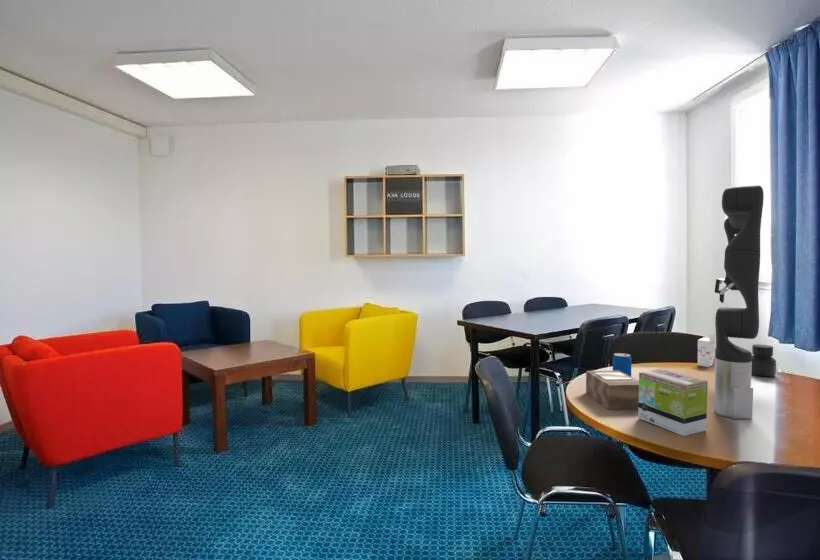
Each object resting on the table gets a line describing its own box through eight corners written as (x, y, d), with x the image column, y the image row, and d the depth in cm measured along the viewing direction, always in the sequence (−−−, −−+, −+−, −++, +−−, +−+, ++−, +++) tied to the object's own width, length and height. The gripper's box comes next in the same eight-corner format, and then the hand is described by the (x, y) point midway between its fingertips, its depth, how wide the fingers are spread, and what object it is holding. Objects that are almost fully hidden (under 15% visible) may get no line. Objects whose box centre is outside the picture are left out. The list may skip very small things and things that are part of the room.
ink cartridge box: (702, 362, 210) (703, 330, 209) (715, 364, 206) (716, 331, 206) (696, 365, 204) (697, 332, 204) (709, 367, 201) (710, 334, 200)
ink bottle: (781, 376, 185) (782, 347, 185) (769, 379, 181) (770, 349, 181) (754, 371, 194) (755, 342, 193) (742, 373, 190) (743, 344, 190)
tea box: (636, 419, 139) (637, 371, 138) (659, 414, 143) (660, 367, 142) (683, 437, 125) (685, 384, 124) (707, 431, 129) (709, 379, 129)
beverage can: (635, 387, 172) (635, 355, 172) (622, 389, 170) (622, 357, 169) (621, 382, 178) (621, 352, 178) (608, 384, 176) (609, 353, 175)
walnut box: (645, 408, 148) (645, 383, 148) (608, 409, 148) (609, 384, 147) (618, 392, 166) (619, 369, 166) (586, 392, 166) (586, 370, 165)
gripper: (715, 267, 183) (713, 305, 188) (759, 269, 174) (756, 309, 179) (717, 262, 189) (715, 298, 194) (760, 263, 180) (757, 302, 185)
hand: (735, 303), depth 186 cm, fingers open, 8 cm apart
